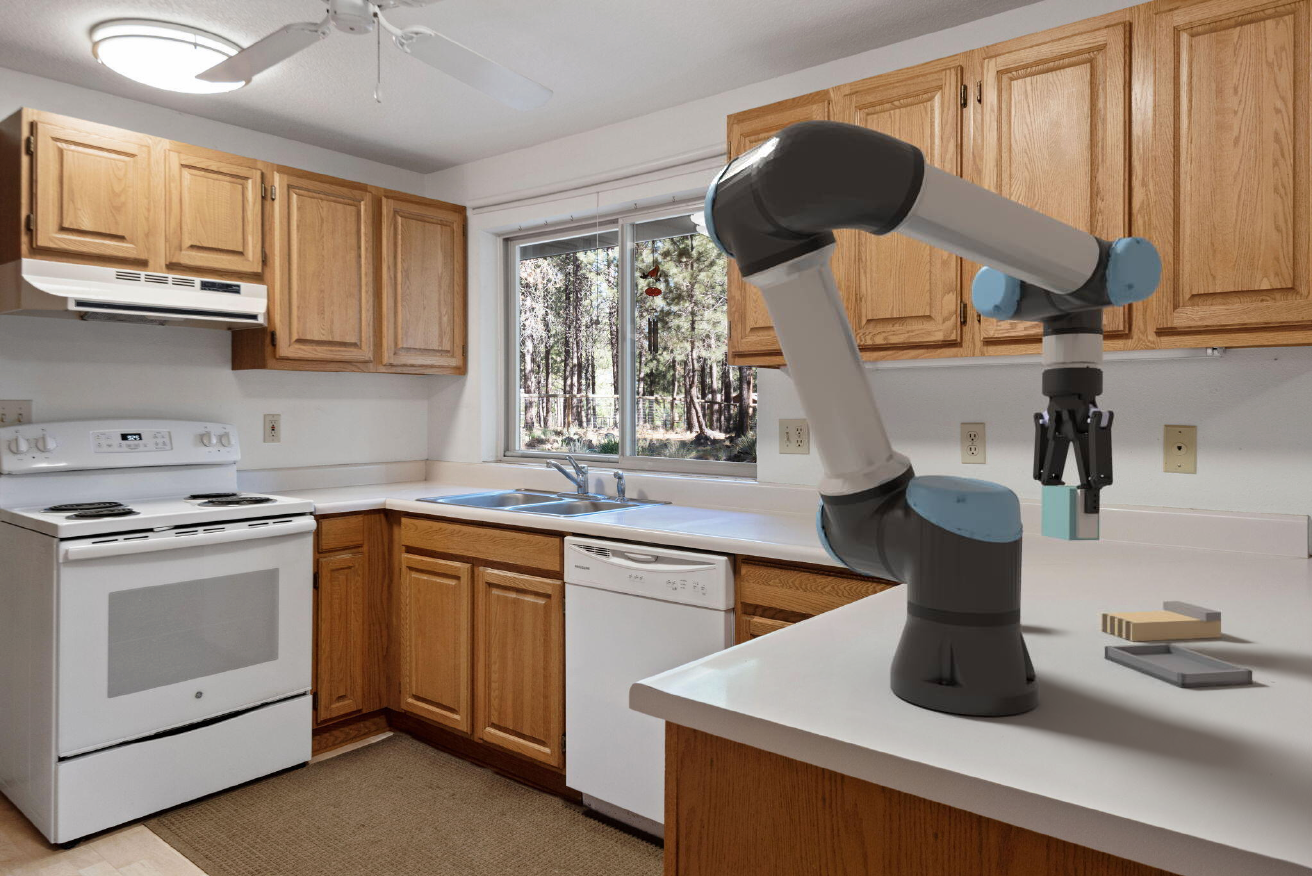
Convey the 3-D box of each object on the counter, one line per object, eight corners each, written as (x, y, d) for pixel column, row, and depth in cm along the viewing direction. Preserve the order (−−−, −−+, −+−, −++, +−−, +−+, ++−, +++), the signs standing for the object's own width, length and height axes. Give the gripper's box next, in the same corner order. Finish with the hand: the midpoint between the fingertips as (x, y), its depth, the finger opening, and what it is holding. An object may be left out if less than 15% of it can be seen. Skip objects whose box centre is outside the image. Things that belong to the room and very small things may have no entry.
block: (1069, 540, 111) (1069, 488, 111) (1041, 535, 117) (1041, 485, 117) (1099, 540, 112) (1099, 488, 112) (1070, 534, 118) (1070, 485, 118)
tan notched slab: (1136, 642, 112) (1136, 615, 112) (1097, 629, 120) (1097, 603, 120) (1225, 638, 115) (1226, 611, 115) (1182, 625, 122) (1182, 600, 122)
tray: (1181, 687, 93) (1181, 674, 93) (1104, 658, 105) (1104, 646, 105) (1252, 683, 94) (1252, 670, 94) (1168, 654, 106) (1168, 643, 106)
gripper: (1148, 362, 106) (1145, 543, 106) (1052, 373, 125) (1050, 526, 125) (1095, 361, 105) (1093, 544, 105) (1007, 372, 123) (1005, 527, 123)
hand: (1070, 534), depth 115 cm, fingers closed on block, 6 cm apart
